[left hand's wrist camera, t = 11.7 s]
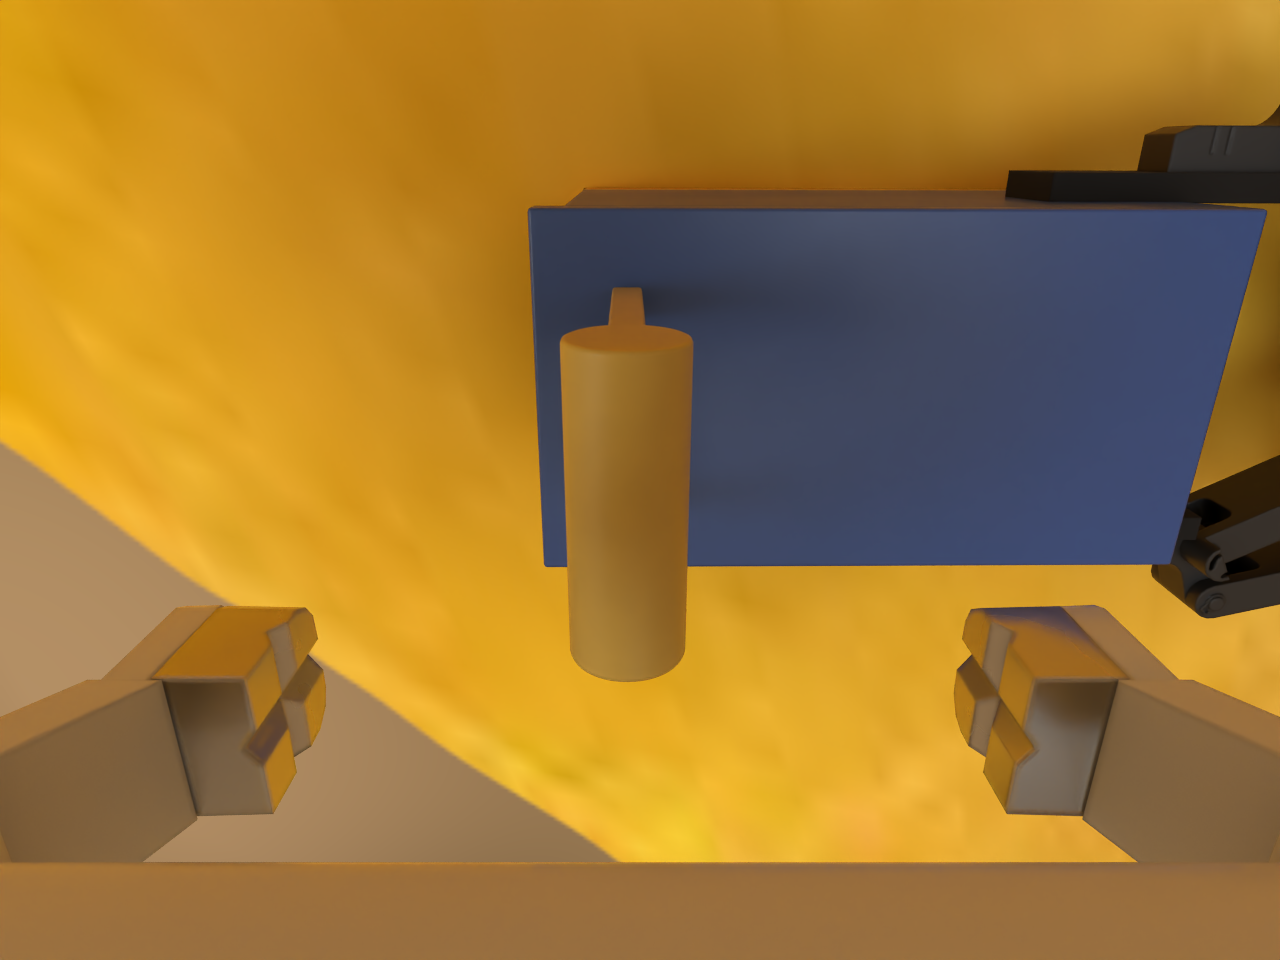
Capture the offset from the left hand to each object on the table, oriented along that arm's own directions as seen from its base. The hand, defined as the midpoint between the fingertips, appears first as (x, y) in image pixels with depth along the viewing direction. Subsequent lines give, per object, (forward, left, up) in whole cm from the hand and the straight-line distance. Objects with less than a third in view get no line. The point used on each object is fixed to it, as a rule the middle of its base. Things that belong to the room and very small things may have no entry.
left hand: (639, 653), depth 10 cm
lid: (+4, +4, -12) cm, 13 cm away
